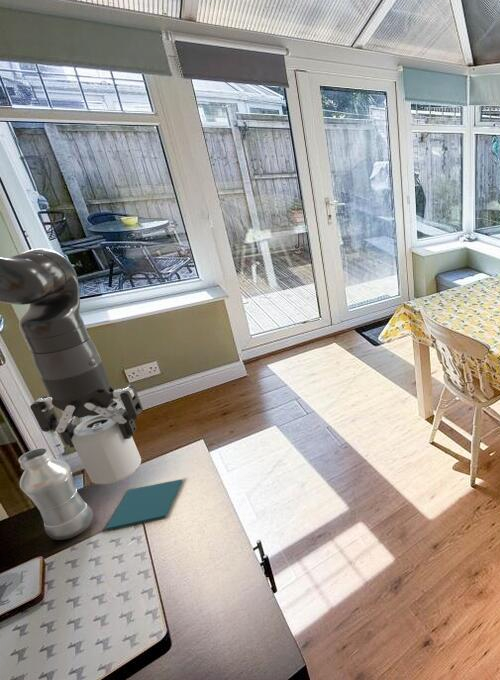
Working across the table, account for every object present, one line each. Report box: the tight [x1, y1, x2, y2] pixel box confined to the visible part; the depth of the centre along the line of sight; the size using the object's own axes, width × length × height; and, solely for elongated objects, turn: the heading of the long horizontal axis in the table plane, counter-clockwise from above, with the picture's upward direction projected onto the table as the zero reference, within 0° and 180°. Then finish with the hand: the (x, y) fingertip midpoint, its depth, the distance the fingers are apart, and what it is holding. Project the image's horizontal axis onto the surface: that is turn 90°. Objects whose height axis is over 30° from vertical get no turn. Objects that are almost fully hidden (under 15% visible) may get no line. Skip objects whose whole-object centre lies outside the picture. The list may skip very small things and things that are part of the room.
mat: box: [105, 479, 183, 531], centre depth 89 cm, size 10×10×1 cm
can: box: [71, 415, 142, 485], centre depth 78 cm, size 8×8×12 cm
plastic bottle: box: [18, 447, 94, 541], centre depth 79 cm, size 6×7×20 cm
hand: (103, 439), depth 77 cm, fingers closed on can, 7 cm apart
